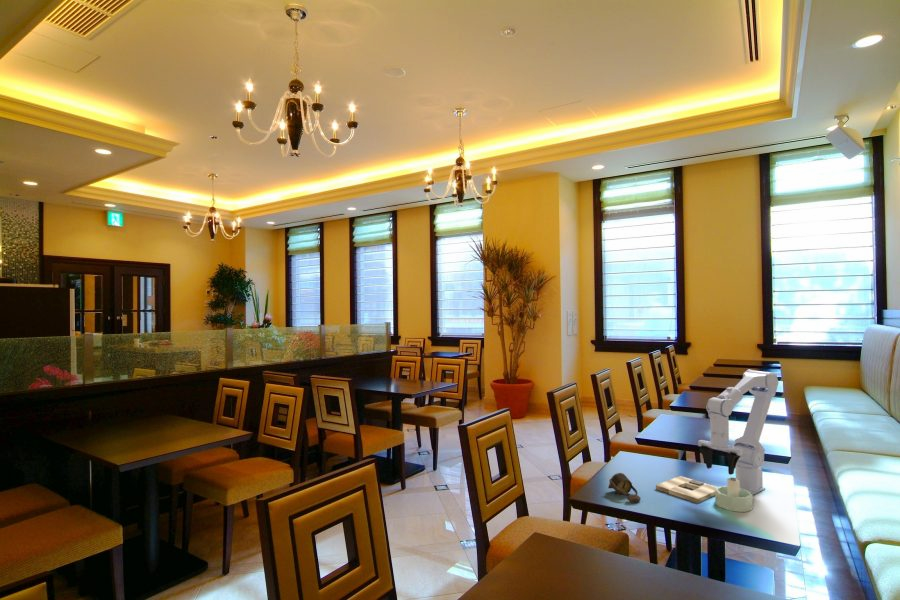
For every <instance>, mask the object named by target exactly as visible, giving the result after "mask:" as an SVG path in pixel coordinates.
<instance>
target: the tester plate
mask: <svg viewBox="0 0 900 600" xmlns="http://www.w3.org/2000/svg"><path fill="white" fill-rule="evenodd" d="M718 487H719V486H716V485H712V484H708V483H706V482H703V481H699V480H697V479H693V478H688V477H686V476H682V475H679V476H676V477H673V478H671V479H669V480H666V481H662V482H660V483H658V484H656V485H655V490H658V491H660V492H662V493H666V494H669V495H671V496H675V497H678V498H682V499H685V500H687V501H691V502H694V503H696V504H699V503H702V502H704V501H706V500H708V499H711V498H713V497H715V489H716V488H718ZM687 488H688V489H687ZM691 489H692V490H691Z"/></svg>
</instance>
